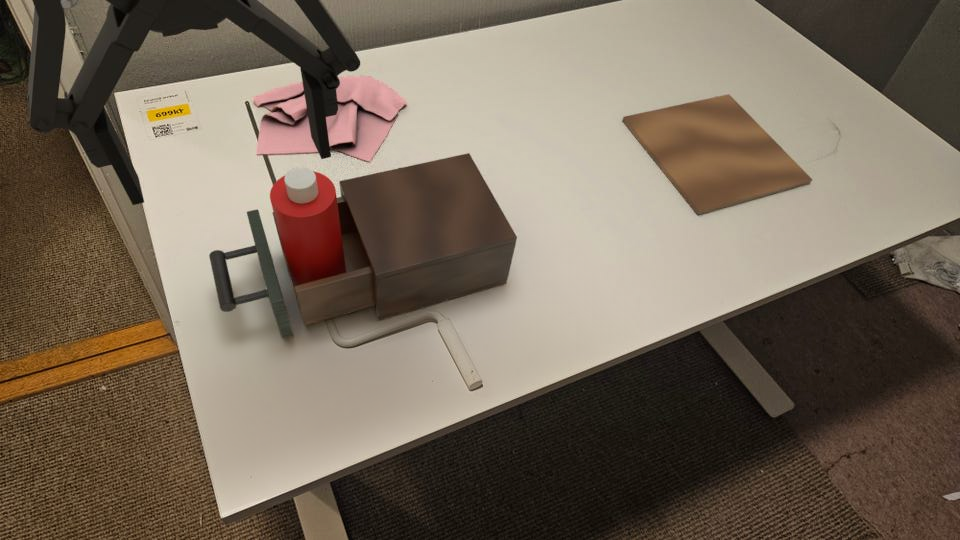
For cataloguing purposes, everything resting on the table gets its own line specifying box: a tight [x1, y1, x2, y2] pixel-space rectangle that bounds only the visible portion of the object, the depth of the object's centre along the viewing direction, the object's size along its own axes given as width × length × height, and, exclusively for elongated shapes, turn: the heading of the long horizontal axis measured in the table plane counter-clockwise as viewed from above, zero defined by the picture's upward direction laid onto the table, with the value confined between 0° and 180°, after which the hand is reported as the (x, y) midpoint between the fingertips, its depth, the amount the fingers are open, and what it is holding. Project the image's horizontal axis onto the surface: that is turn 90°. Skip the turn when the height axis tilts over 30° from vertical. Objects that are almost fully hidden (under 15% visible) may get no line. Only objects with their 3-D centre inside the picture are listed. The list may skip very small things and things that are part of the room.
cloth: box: [252, 75, 408, 163], centre depth 85 cm, size 20×22×2 cm
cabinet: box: [338, 152, 518, 321], centre depth 70 cm, size 16×14×9 cm
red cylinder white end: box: [269, 166, 346, 287], centre depth 62 cm, size 6×6×15 cm
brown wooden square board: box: [622, 93, 813, 216], centre depth 90 cm, size 20×20×1 cm
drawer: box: [208, 196, 376, 340], centre depth 66 cm, size 19×12×7 cm, turn 113°
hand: (233, 168), depth 46 cm, fingers open, 13 cm apart
